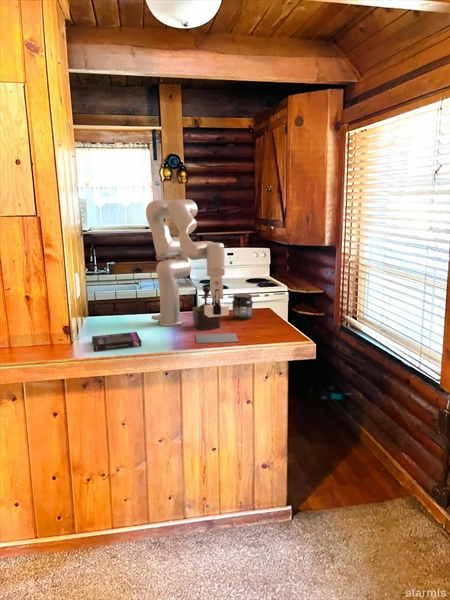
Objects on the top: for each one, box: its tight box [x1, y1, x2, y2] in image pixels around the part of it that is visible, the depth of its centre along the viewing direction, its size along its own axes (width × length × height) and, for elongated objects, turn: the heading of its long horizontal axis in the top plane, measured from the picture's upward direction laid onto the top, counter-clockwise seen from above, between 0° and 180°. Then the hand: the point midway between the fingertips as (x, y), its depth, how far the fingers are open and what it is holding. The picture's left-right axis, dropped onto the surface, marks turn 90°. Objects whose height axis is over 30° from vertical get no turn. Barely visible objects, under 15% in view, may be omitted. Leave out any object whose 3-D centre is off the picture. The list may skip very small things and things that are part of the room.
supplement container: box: [231, 292, 254, 321], centre depth 229 cm, size 10×10×12 cm
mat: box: [195, 332, 239, 345], centre depth 196 cm, size 18×12×1 cm, turn 95°
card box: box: [204, 303, 230, 317], centre depth 193 cm, size 6×9×4 cm, turn 112°
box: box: [91, 331, 142, 353], centre depth 189 cm, size 14×4×20 cm
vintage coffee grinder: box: [192, 286, 221, 331], centre depth 215 cm, size 16×11×18 cm
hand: (216, 312), depth 193 cm, fingers closed on card box, 7 cm apart
